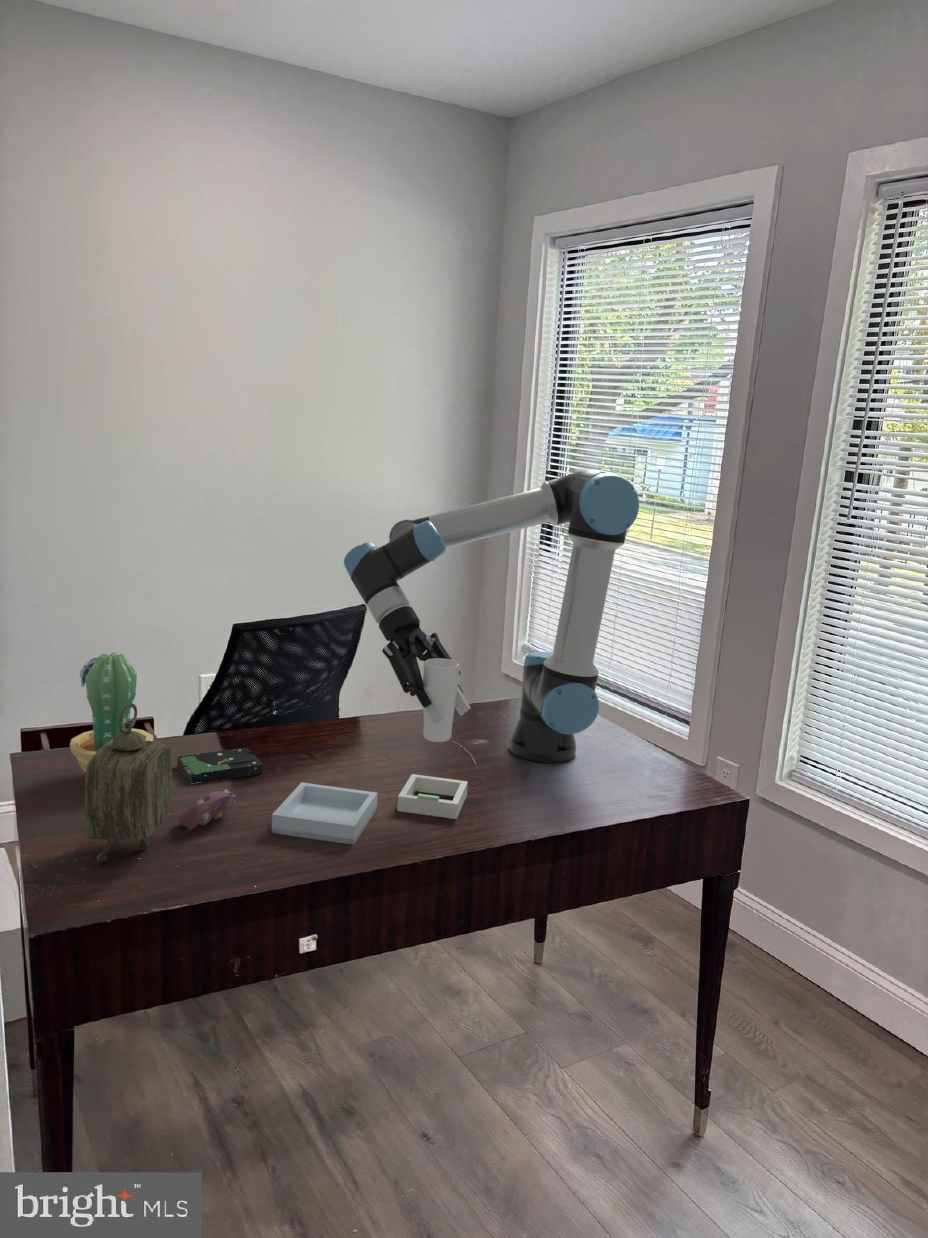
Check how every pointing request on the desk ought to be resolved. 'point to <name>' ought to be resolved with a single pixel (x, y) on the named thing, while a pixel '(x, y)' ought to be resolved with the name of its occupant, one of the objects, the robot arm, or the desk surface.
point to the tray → (325, 813)
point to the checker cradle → (429, 802)
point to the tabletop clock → (127, 788)
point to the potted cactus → (105, 703)
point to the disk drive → (220, 765)
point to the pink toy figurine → (208, 808)
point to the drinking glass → (441, 696)
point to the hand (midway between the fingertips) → (452, 715)
